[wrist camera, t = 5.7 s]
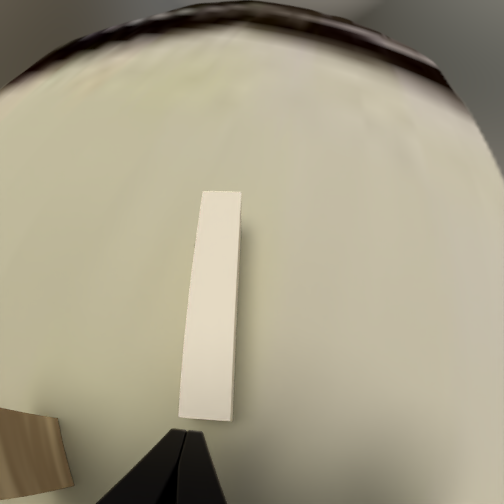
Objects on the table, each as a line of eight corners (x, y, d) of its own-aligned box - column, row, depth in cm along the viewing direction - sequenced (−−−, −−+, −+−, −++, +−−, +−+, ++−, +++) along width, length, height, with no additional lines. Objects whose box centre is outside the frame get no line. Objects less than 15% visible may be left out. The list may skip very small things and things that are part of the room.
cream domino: (232, 421, 14) (240, 234, 20) (230, 421, 11) (241, 192, 17) (192, 418, 14) (208, 233, 20) (178, 416, 11) (203, 190, 17)
